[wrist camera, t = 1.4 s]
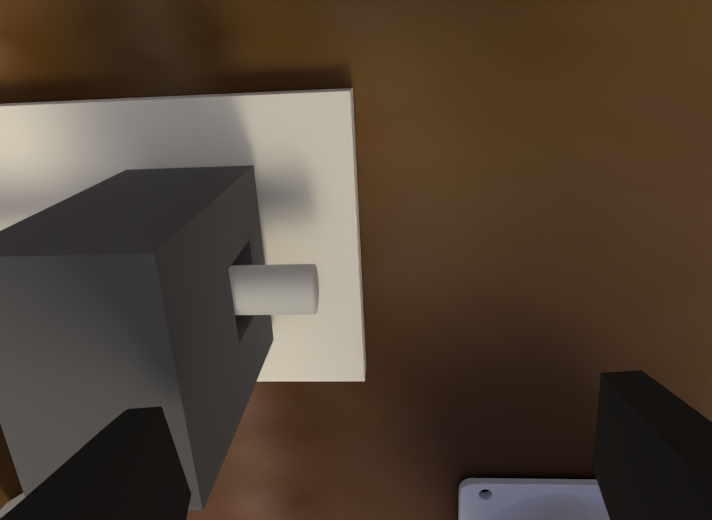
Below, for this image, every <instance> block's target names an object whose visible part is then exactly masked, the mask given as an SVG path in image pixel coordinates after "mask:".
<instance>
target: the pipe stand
mask: <svg viewBox="0 0 712 520" xmlns="http://www.w3.org/2000/svg"><path fill="white" fill-rule="evenodd" d="M250 165H254V173H255V182H256V191H257V200H258V208H259V217H260V226H261V234H262V243H263V252H264V260H265V265H231V266H230V267H229V276H230V283H231V291H232V298H233V305H234V312H235V315H271V321H272V330H273V339H274V340H273V343H272V345H271V347H270V350H269V352H268V355H267V357H266V359H265V362H264V364H263V367H262V369H261V372H260V374H259V376H258V379H257V381H365V373H366V352H365V331H364V310H363V290H362V269H361V248H360V227H359V207H358V186H357V165H356V144H355V124H354V103H353V88H341V89H319V90H296V91H274V92H252V93H229V94H207V95H184V96H162V97H139V98H117V99H95V100H72V101H50V102H27V103H5V104H0V231H1V230H3V229H5V228H7V227H9V226H11V225H13V224H15V223H18V222H20V221H22V220H24V219H26V218H28V217H30V216H32V215H34V214H36V213H38V212H40V211H42V210H44V209H46V208H48V207H50V206H53V205H55V204H57V203H59V202H61V201H63V200H65V199H67V198H69V197H71V196H73V195H75V194H77V193H79V192H81V191H83V190H85V189H88V188H90V187H92V186H94V185H96V184H98V183H100V182H102V181H104V180H106V179H108V178H110V177H112V176H114V175H116V174H118V173H120V172H122V171H125V170H131V169H161V168H191V167H220V166H250Z"/></svg>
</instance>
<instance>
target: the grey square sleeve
mask: <svg viewBox="0 0 712 520" xmlns="http://www.w3.org/2000/svg"><path fill="white" fill-rule="evenodd" d="M231 265H265V260H264V252H263V243H262V234H261V226H260V217H259V208H258V200H257V191H256V182H255V173H254V165H250V166H220V167H191V168H161V169H131V170H125V171H122V172H120V173H118V174H116V175H114V176H112V177H110V178H108V179H106V180H104V181H102V182H100V183H98V184H96V185H94V186H92V187H90V188H88V189H85V190H83V191H81V192H79V193H77V194H75V195H73V196H71V197H69V198H67V199H65V200H63V201H61V202H59V203H57V204H55V205H53V206H50V207H48V208H46V209H44V210H42V211H40V212H38V213H36V214H34V215H32V216H30V217H28V218H26V219H24V220H22V221H20V222H18V223H15V224H13V225H11V226H9V227H7V228H5V229H3V230H1V231H0V424H1V427H2V430H3V433H4V436H5V439H6V442H7V445H8V448H9V451H10V454H11V457H12V460H13V463H14V466H15V469H16V472H17V475H18V478H19V481H20V484H21V487H22V489H23V492H24V495H25V497H26V496H27V495H28V494H30V493H31V492H32V491H33V490H34V489H35V488H36V487H38V486H39V485H40V484H41V483H42V482H43V481H44V480H46V479H47V478H48V477H49V476H50V475H51V474H52V473H54V472H55V471H56V470H57V469H58V468H59V467H60V466H62V465H63V464H64V463H65V462H66V461H67V460H68V459H69V458H71V457H72V456H73V455H74V454H75V453H76V452H77V451H78V450H80V449H81V448H82V447H83V446H84V445H85V444H86V443H87V442H89V441H90V440H91V439H92V438H93V437H94V436H95V435H97V434H98V433H99V432H100V431H101V430H102V429H103V428H105V427H106V426H107V425H108V424H109V423H110V422H112V421H113V420H114V419H115V418H116V417H118V416H119V415H120V414H121V413H123V412H124V411H125V410H127V409H133V408H146V407H159V406H162V409H163V412H164V415H165V418H166V421H167V423H168V426H169V429H170V432H171V435H172V438H173V441H174V444H175V447H176V450H177V453H178V456H179V459H180V462H181V465H182V468H183V471H184V474H185V477H186V480H187V483H188V486H189V488H190V491H191V499H190V503H189V508H188V511H203V509H204V507H205V505H206V502H207V500H208V497H209V495H210V492H211V490H212V488H213V485H214V483H215V480H216V478H217V476H218V473H219V471H220V468H221V466H222V463H223V461H224V459H225V456H226V454H227V451H228V449H229V447H230V444H231V442H232V439H233V437H234V434H235V432H236V430H237V427H238V425H239V422H240V420H241V417H242V415H243V413H244V410H245V408H246V405H247V403H248V401H249V398H250V396H251V393H252V391H253V388H254V386H255V384H256V381H257V379H258V376H259V374H260V372H261V369H262V367H263V364H264V362H265V359H266V357H267V355H268V352H269V350H270V347H271V345H272V343H273V340H274V339H273V330H272V321H271V315H235V312H234V305H233V298H232V291H231V283H230V276H229V267H230V266H231Z"/></svg>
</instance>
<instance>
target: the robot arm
mask: <svg viewBox="0 0 712 520" xmlns="http://www.w3.org/2000/svg"><path fill="white" fill-rule="evenodd" d="M593 470H594V473H595V476H596V479H597V480H594V479H516V478H468V479H465V480H463V481H462V482H461V483H460V485H459V500H458V520H712V422H711V421H709V420H708V419H707V418H705V417H704V416H703V415H701V414H700V413H699V412H697V411H696V410H694V409H693V408H692V407H690V406H689V405H688V404H686V403H685V402H684V401H682V400H681V399H680V398H678V397H677V396H676V395H674V394H673V393H672V392H670V391H669V390H668V389H666V388H665V387H664V386H662V385H661V384H659V383H658V382H657V381H655V380H654V379H653V378H651V377H650V376H648V375H647V374H645V373H644V372H643V371H641V370H638V371H625V372H611V373H601V378H600V391H599V403H598V416H597V428H596V441H595V453H594V466H593ZM484 489H487V490H489V491H487V492H480V491H481V490H484ZM190 499H191V491H190V488H189V486H188V483H187V480H186V477H185V474H184V471H183V468H182V465H181V462H180V459H179V456H178V453H177V450H176V447H175V444H174V441H173V438H172V435H171V432H170V429H169V426H168V423H167V421H166V418H165V415H164V412H163V409H162V406H159V407H146V408H133V409H127V410H125V411H124V412H123V413H121V414H120V415H119V416H118V417H116V418H115V419H114V420H113V421H112V422H110V423H109V424H108V425H107V426H106V427H105V428H103V429H102V430H101V431H100V432H99V433H98V434H97V435H95V436H94V437H93V438H92V439H91V440H90V441H89V442H87V443H86V444H85V445H84V446H83V447H82V448H81V449H80V450H78V451H77V452H76V453H75V454H74V455H73V456H72V457H71V458H69V459H68V460H67V461H66V462H65V463H64V464H63V465H62V466H60V467H59V468H58V469H57V470H56V471H55V472H54V473H52V474H51V475H50V476H49V477H48V478H47V479H46V480H44V481H43V482H42V483H41V484H40V485H39V486H38V487H36V488H35V489H34V490H33V491H32V492H31V493H30V494H28V495H27V496H26V497H25V498H24V499H23V500H22V501H20V502H19V503H18V504H17V505H16V506H15V507H14V508H12V509H11V510H10V511H9V512H8V513H6V514H5V515H4V516H3V517H1V518H0V520H186V517H187V513H188V508H189V503H190Z"/></svg>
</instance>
